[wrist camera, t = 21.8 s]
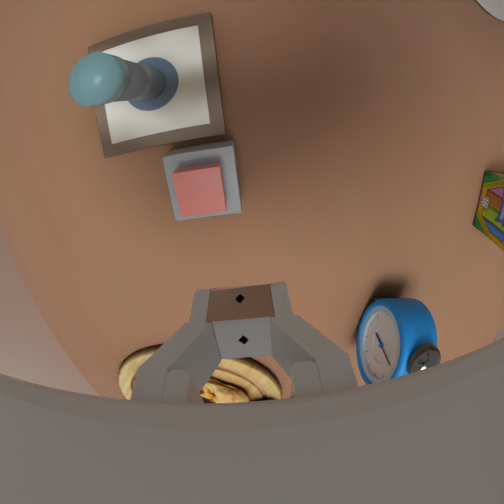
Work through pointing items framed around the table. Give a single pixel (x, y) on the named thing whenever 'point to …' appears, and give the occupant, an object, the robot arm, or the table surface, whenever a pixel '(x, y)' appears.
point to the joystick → (113, 80)
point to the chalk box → (491, 208)
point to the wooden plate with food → (215, 380)
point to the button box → (203, 156)
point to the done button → (200, 189)
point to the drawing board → (175, 93)
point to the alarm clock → (396, 339)
